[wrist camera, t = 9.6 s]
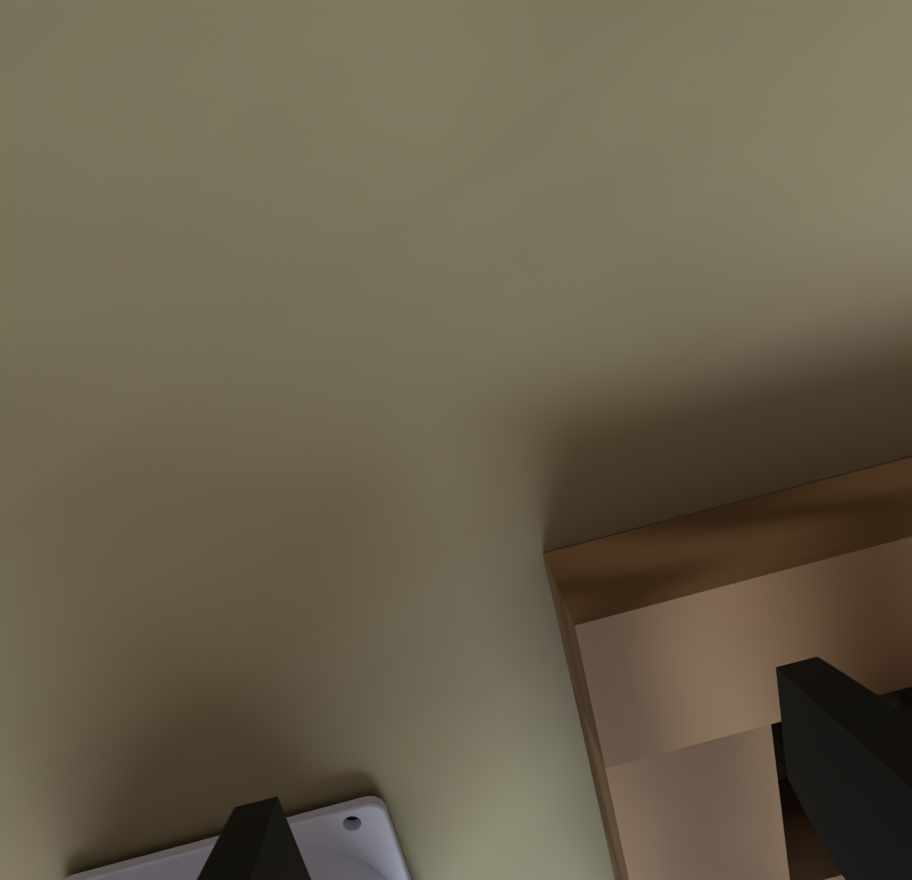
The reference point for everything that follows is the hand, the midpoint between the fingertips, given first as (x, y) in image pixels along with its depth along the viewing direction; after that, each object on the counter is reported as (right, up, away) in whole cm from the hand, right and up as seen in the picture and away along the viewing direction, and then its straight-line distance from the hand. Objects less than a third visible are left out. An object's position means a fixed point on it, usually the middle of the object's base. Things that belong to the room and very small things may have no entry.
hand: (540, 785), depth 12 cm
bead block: (+9, -3, +13) cm, 17 cm away
